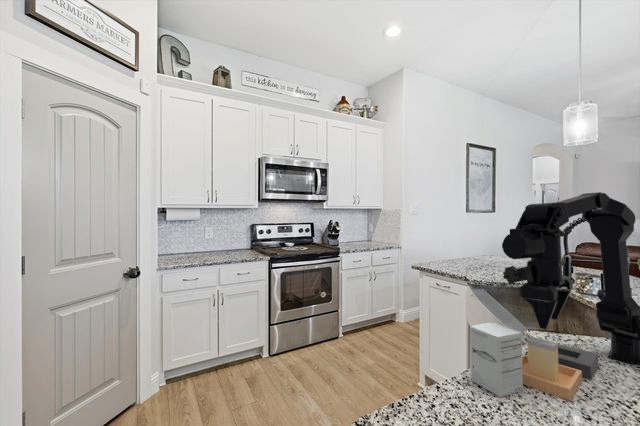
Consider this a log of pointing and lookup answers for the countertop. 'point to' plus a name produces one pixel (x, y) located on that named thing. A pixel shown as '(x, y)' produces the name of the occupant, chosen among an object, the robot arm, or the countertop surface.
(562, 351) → the gray rectangular frame
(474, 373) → the supplement box
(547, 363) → the block
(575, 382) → the parts tray
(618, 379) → the countertop surface
